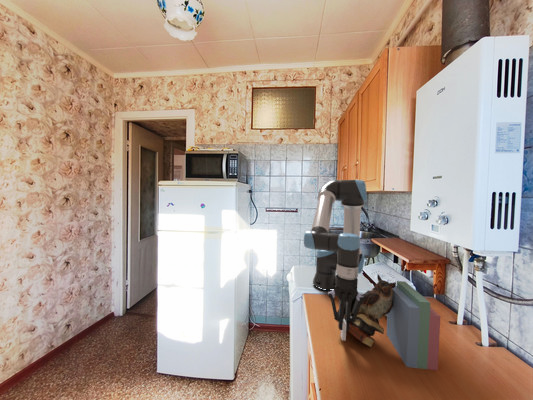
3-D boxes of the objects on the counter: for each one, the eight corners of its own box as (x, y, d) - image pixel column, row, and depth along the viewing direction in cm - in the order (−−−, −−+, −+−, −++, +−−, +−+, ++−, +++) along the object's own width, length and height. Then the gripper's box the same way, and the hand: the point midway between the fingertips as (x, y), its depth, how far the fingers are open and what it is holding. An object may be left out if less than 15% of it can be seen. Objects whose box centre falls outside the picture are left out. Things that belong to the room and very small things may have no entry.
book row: (386, 334, 84) (388, 280, 83) (411, 337, 83) (413, 282, 82) (406, 367, 68) (409, 300, 67) (437, 371, 67) (441, 303, 66)
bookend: (331, 320, 85) (357, 264, 89) (349, 328, 89) (374, 274, 93) (359, 344, 71) (389, 277, 75) (379, 353, 75) (406, 288, 79)
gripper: (330, 278, 75) (326, 342, 76) (368, 282, 73) (364, 348, 74) (327, 270, 82) (324, 329, 83) (362, 273, 80) (358, 333, 81)
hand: (343, 337), depth 79 cm, fingers closed
